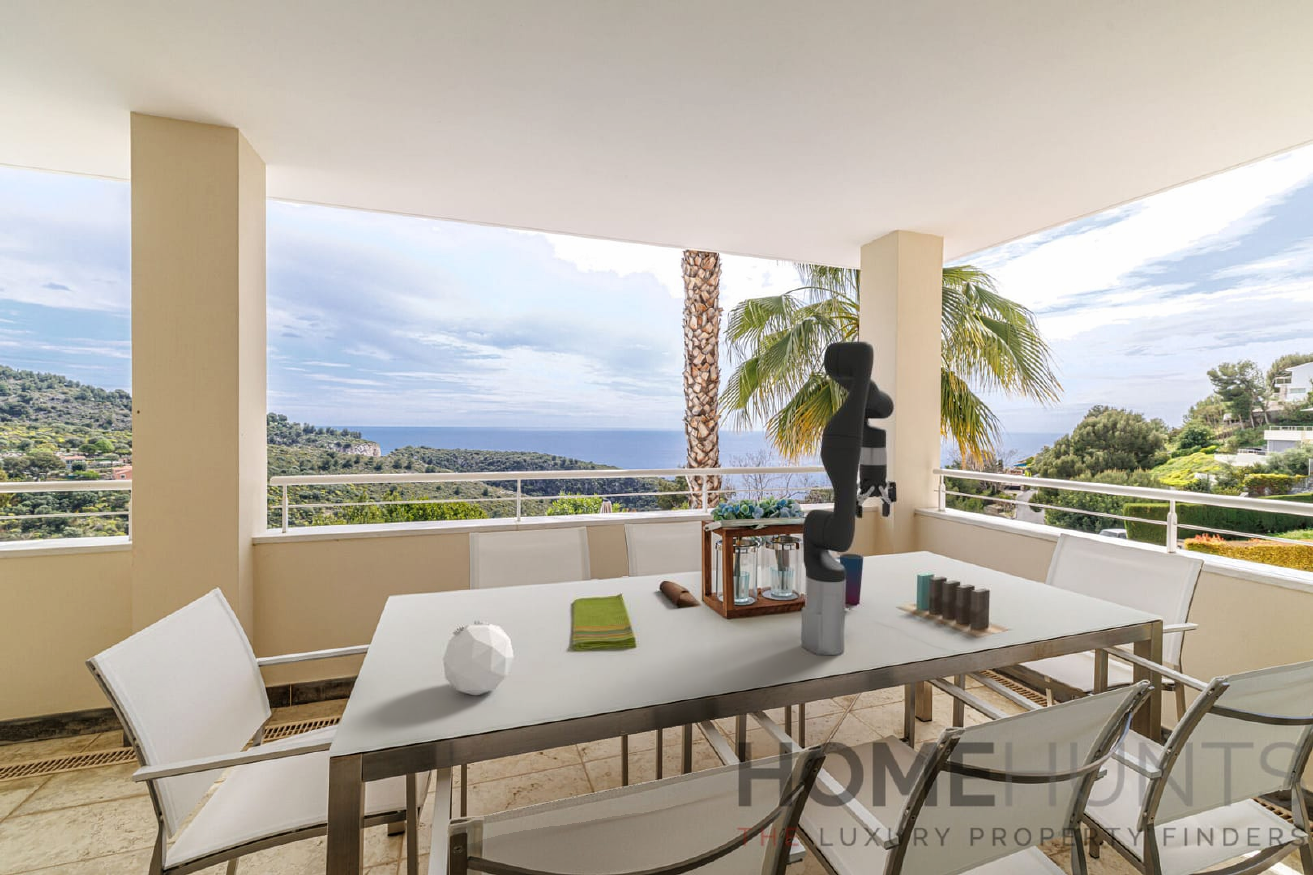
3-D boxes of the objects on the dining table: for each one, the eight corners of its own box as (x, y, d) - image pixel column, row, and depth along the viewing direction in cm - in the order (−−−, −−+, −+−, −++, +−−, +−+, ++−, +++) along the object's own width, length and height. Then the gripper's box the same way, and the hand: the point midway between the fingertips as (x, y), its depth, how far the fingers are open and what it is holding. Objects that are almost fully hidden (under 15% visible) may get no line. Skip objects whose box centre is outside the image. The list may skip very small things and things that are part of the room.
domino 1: (921, 610, 159) (921, 576, 159) (916, 608, 161) (917, 574, 160) (933, 608, 161) (933, 574, 161) (928, 606, 163) (929, 572, 163)
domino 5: (976, 630, 144) (977, 592, 144) (970, 628, 145) (971, 590, 145) (988, 627, 146) (989, 590, 146) (982, 625, 148) (983, 588, 147)
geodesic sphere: (432, 688, 98) (480, 618, 103) (415, 661, 109) (458, 599, 114) (495, 717, 105) (536, 651, 110) (472, 689, 116) (511, 630, 121)
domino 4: (961, 624, 148) (962, 587, 148) (955, 622, 149) (956, 586, 149) (973, 622, 150) (974, 585, 150) (968, 620, 151) (969, 584, 151)
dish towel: (572, 653, 129) (572, 639, 129) (572, 604, 165) (572, 593, 165) (637, 650, 132) (637, 636, 132) (623, 602, 167) (623, 592, 167)
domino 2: (933, 614, 155) (934, 579, 155) (928, 613, 157) (929, 578, 157) (946, 612, 157) (946, 577, 157) (941, 610, 159) (941, 576, 159)
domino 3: (947, 619, 152) (948, 583, 151) (942, 617, 153) (943, 582, 153) (959, 617, 154) (960, 581, 153) (954, 615, 155) (955, 580, 155)
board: (976, 641, 139) (976, 637, 139) (896, 610, 162) (896, 607, 162) (1011, 633, 145) (1011, 629, 145) (929, 604, 168) (929, 601, 168)
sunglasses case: (703, 605, 163) (693, 587, 162) (684, 619, 162) (673, 601, 160) (683, 588, 180) (673, 571, 179) (665, 600, 179) (655, 584, 178)
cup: (858, 610, 161) (859, 559, 161) (835, 605, 165) (836, 556, 165) (865, 604, 167) (866, 555, 166) (842, 600, 171) (843, 552, 170)
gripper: (858, 464, 157) (857, 520, 158) (902, 463, 160) (901, 518, 161) (844, 462, 164) (843, 515, 165) (887, 460, 167) (886, 513, 168)
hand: (872, 517), depth 163 cm, fingers open, 8 cm apart
